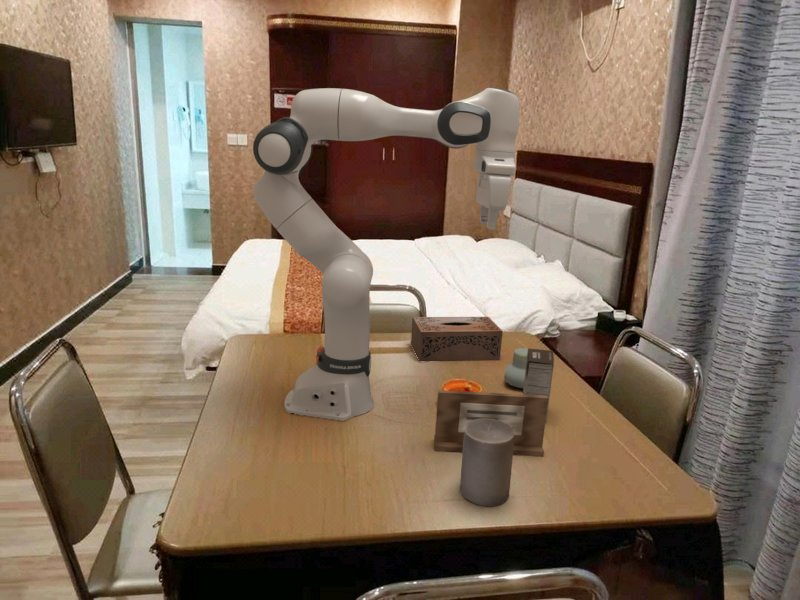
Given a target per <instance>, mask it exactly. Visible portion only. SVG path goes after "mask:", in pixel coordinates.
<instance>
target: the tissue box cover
mask: <svg viewBox="0 0 800 600" xmlns="http://www.w3.org/2000/svg"><path fill="white" fill-rule="evenodd" d="M411 319H412V320H411V335H410V336H411V337H410V346H411V345H412V346H411V348H412V347H413V348H412V350H413V349H414V350H413V352H414V351H415V352H414V354H415V353H416V354H415V356H416V355H417V356H416V358H417V357H418V358H417V360H418V359H419V360H418V362H419V361H439V362H474V361H475V362H477V361H478V362H479V361H480V362H481V361H483V362H484V361H487V362H488V361H500V360H501V350H502V340H503V330H502V329H501V328H500V327H499V326H498V325H497V323H495V322H494V321H493V320H492V319H491V317H489V316H412V318H411Z"/></svg>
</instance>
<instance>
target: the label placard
mask: <svg viewBox="0 0 800 600" xmlns="http://www.w3.org/2000/svg"><path fill="white" fill-rule="evenodd" d="M547 406H548V407H549V405H548V396H543V395H524V394H523V393H522V394H521V393H520V394H519V393H499V392H480V391H462V390H461V391H460V390H444V389H443V390H440V389H438V390H437V402H436V413H435V414H436V416H435V417H436V418H435V429H434V430H435V431H434V436H433V437H434V438H433V443H434V451H435V452H452V453H462V452H463V439H464V426H465V425H466V424H467V423H468V422H470V421H472V420H474V419H481V418H489V419H495V420H499V421H502V422H504V423H506V424H508V425H509V426H511V427H512V428H513V430H514V448H513V456H527V457H528V456H530V457H531V456H532V457H544V456H545V455H544V454H545V451H544V448H543V444H544V435H545V427H546V423H545V421H546V422H547V420H546V414H547V415H548V412H547Z"/></svg>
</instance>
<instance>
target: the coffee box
mask: <svg viewBox="0 0 800 600" xmlns="http://www.w3.org/2000/svg"><path fill="white" fill-rule="evenodd" d="M527 349H528V353H527V362H526V371H525V379H524V388H522V394H524V395H543V396H548V406H547V414H546V421H545V424H547V420H548V419H547V418H548V411H549V405H550V395H551V389H552V380H553V375H554V374H553V373H554V366H555V360H554V359H555V358H554V350H550V349H549V350H547V349H540V348H527Z"/></svg>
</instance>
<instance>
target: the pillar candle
mask: <svg viewBox="0 0 800 600" xmlns="http://www.w3.org/2000/svg"><path fill="white" fill-rule="evenodd" d="M513 448H514V430H513V428H512V427H511V426H509V425H508V424H506V423H504V422H502V421H499V420H495V419H489V418H481V419H474V420H472V421H470V422H468V423H467V424H466V425H465V426H464V439H463V452H461V454H462V456H461V465H460V466H461V468H460V480H459V481H460V484H459V491H460V494H461V496H462V497H463V498H464V499H466V500H468V501H470V502H471V503H473V504H475V505H478V506H481V507H495V506H499V505H502V504H503V503H505V502H507V500H508V499H509V497H510V490H511V489H510V488H511V477H512V469H513V468H512V467H513V458H514V457H513V456H514V455H513Z"/></svg>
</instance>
